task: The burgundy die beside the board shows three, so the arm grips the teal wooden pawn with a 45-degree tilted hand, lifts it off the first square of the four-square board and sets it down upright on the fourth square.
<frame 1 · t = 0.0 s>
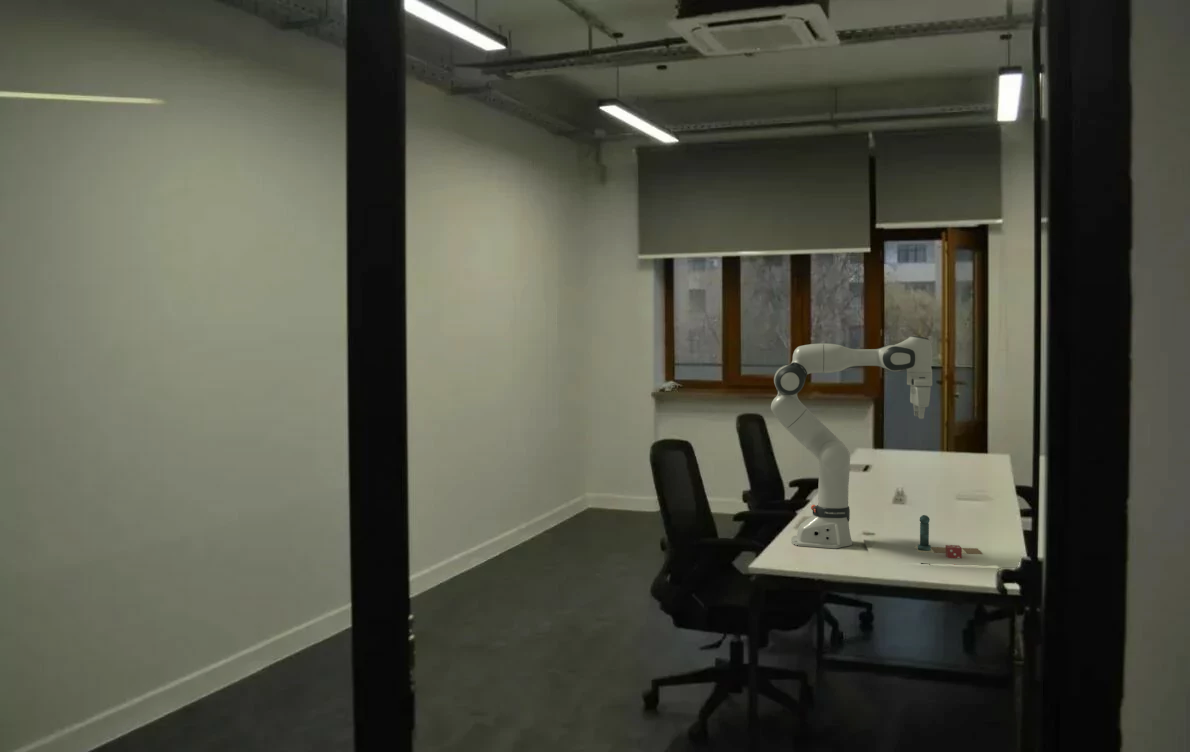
hand: (919, 417, 355), 48 cm above the table, tool pointing down, fingers open, 8 cm apart
board: (948, 553, 345), on the table
pawn: (924, 549, 346), point 1 cm above the table, touching board
die: (953, 559, 336), on the table
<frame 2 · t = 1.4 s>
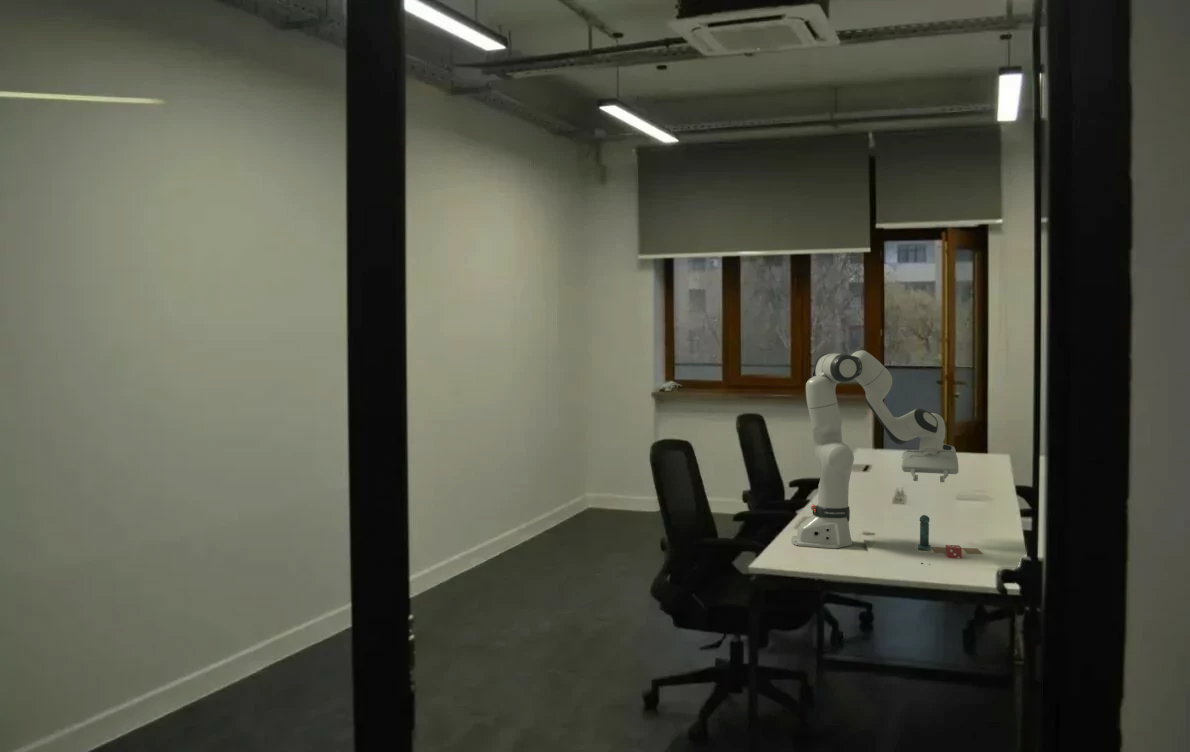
hand: (928, 480, 356), 24 cm above the table, tool tilted 45°, fingers open, 8 cm apart
nothing on the table moved.
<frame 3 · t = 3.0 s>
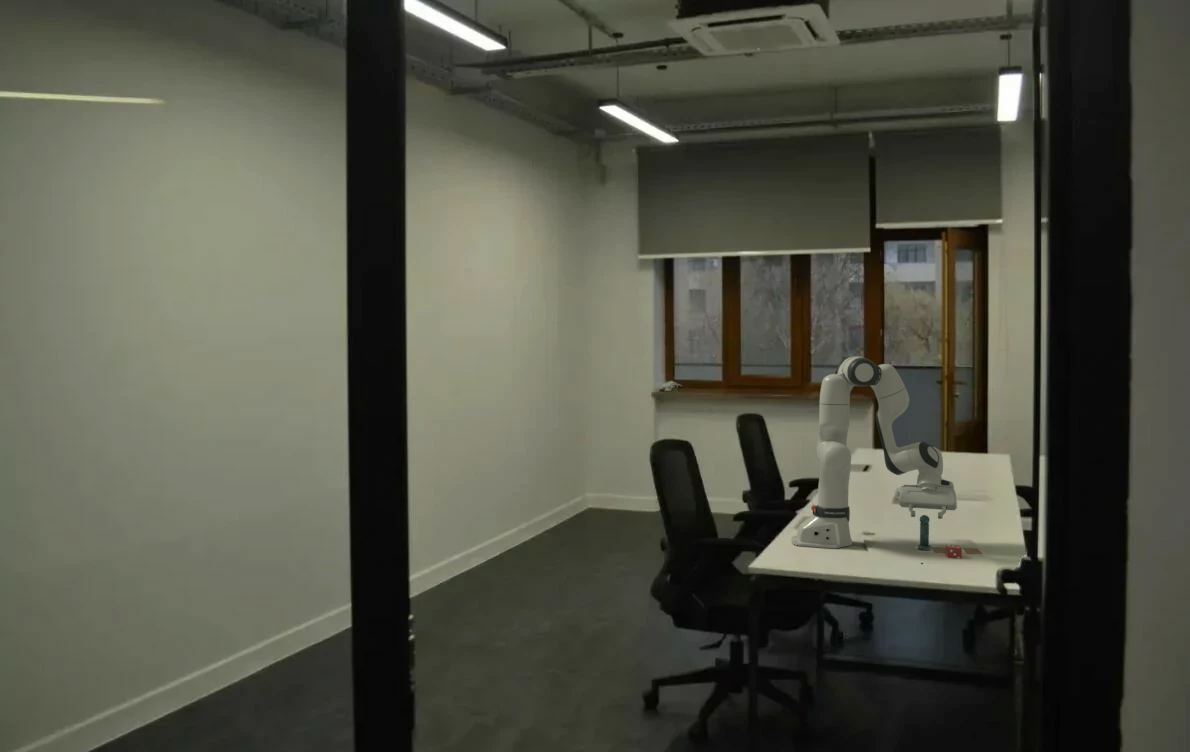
hand: (926, 516, 350), 12 cm above the table, tool tilted 45°, fingers open, 8 cm apart
nothing on the table moved.
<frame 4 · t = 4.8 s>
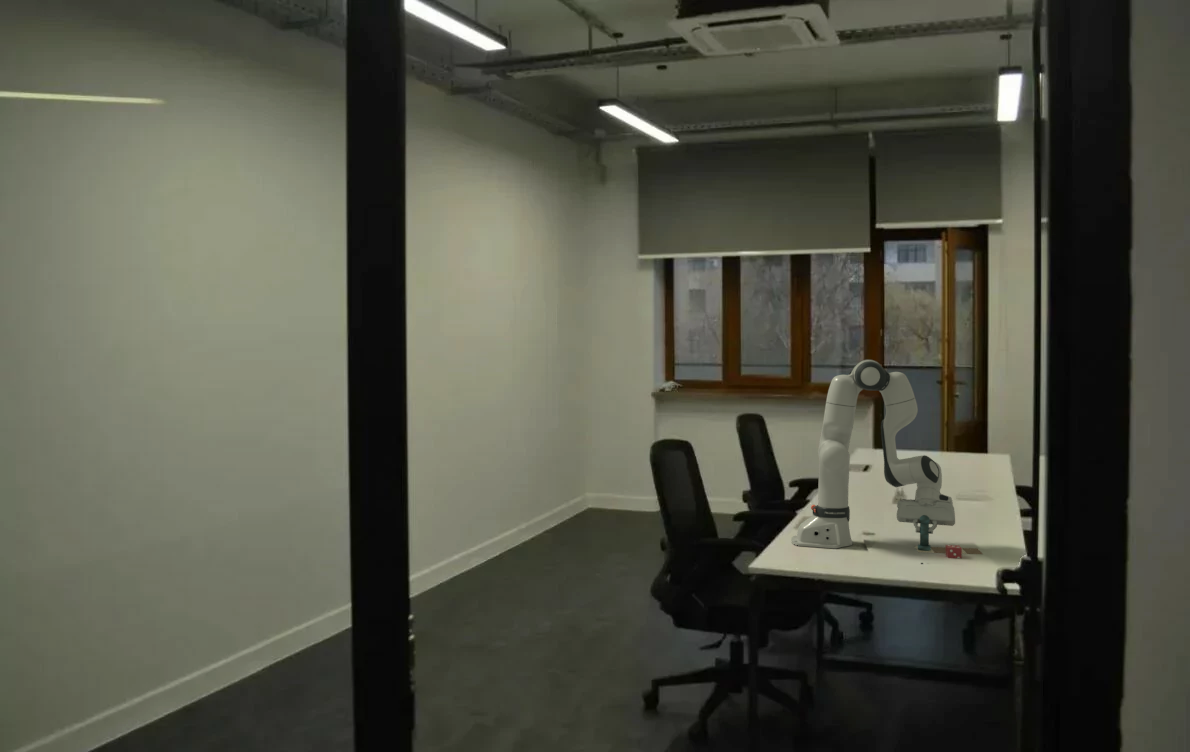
hand: (924, 532, 345), 7 cm above the table, tool tilted 45°, fingers closed on pawn, 3 cm apart
pawn: (924, 549, 346), point 1 cm above the table, touching board, gripper
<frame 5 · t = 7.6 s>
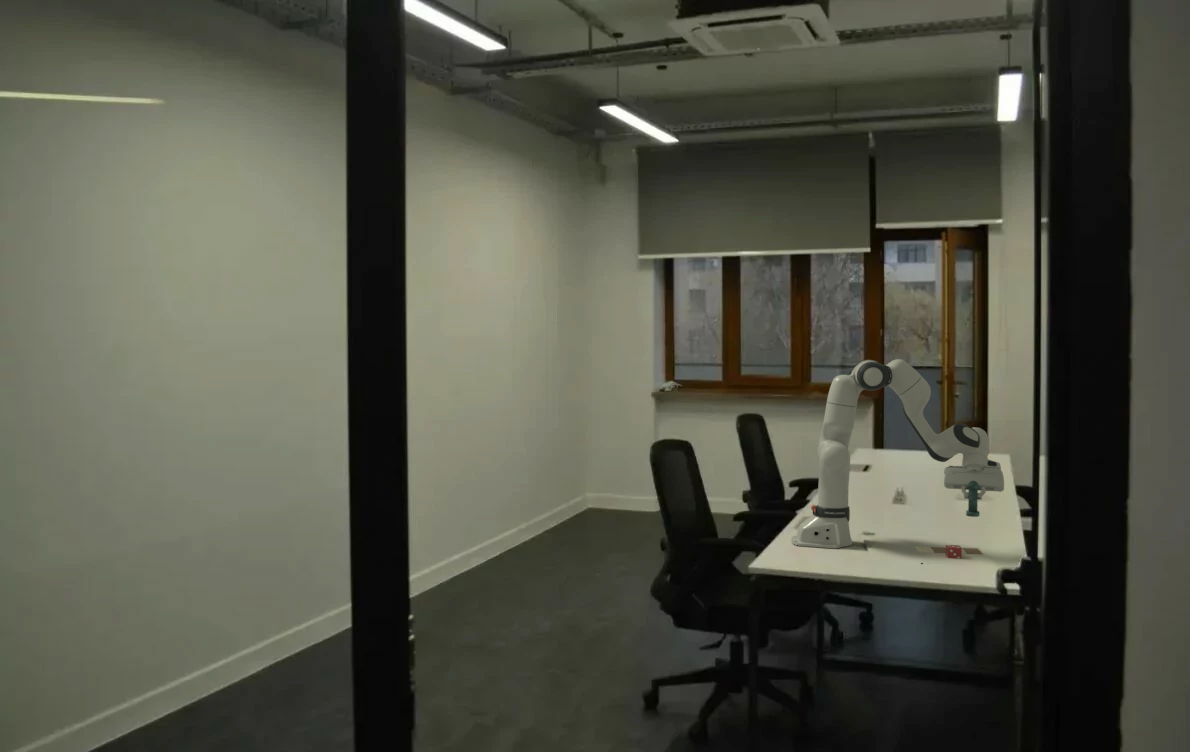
hand: (972, 498, 342), 20 cm above the table, tool tilted 45°, fingers closed on pawn, 3 cm apart
pawn: (972, 515, 343), point 14 cm above the table, touching gripper
when the fingers open (9 cm above the table, at t = 10.4 s): pawn drops 1 cm, resting on board.
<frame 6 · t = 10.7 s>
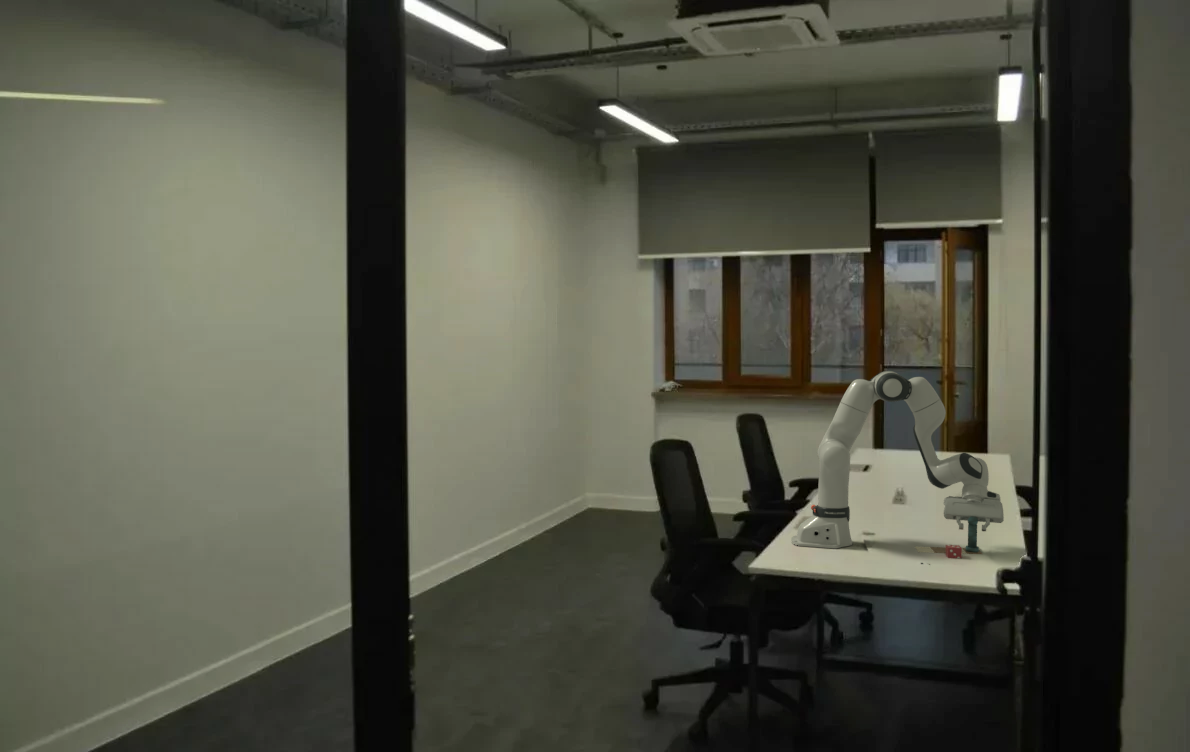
hand: (972, 529, 342), 9 cm above the table, tool tilted 45°, fingers open, 6 cm apart
pawn: (972, 550, 343), point 1 cm above the table, touching board
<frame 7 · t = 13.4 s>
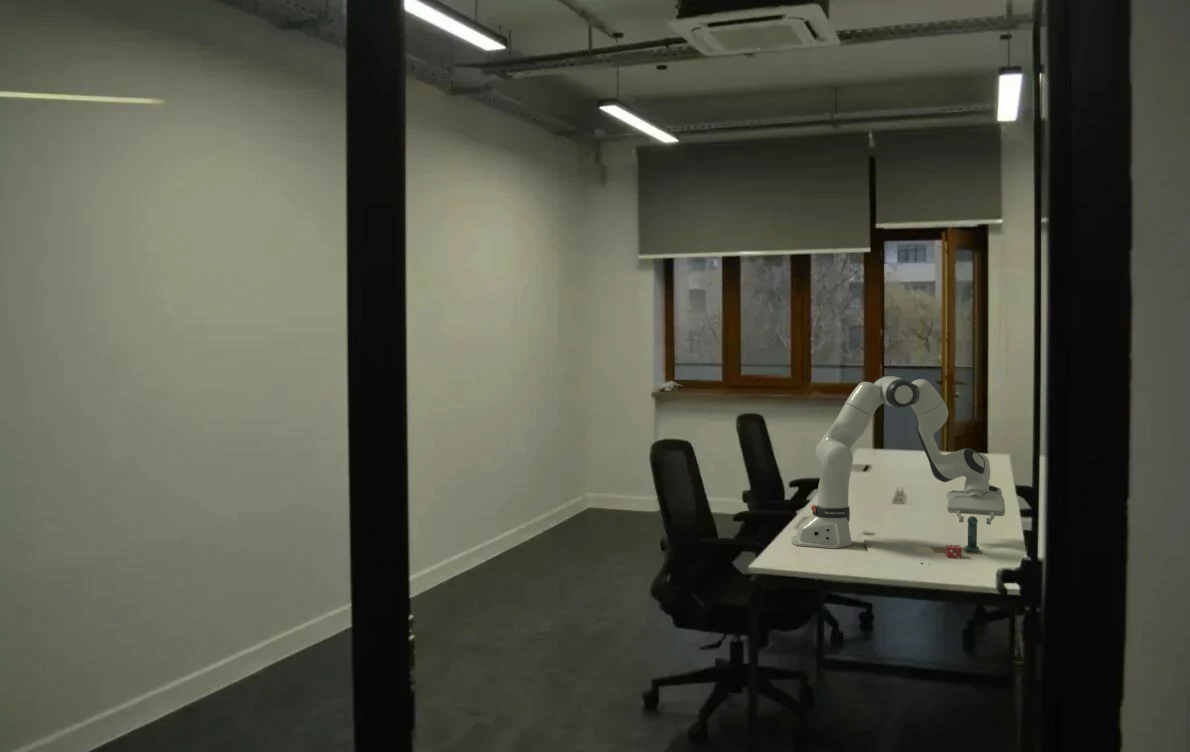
hand: (974, 522, 354), 9 cm above the table, tool tilted 45°, fingers open, 8 cm apart
nothing on the table moved.
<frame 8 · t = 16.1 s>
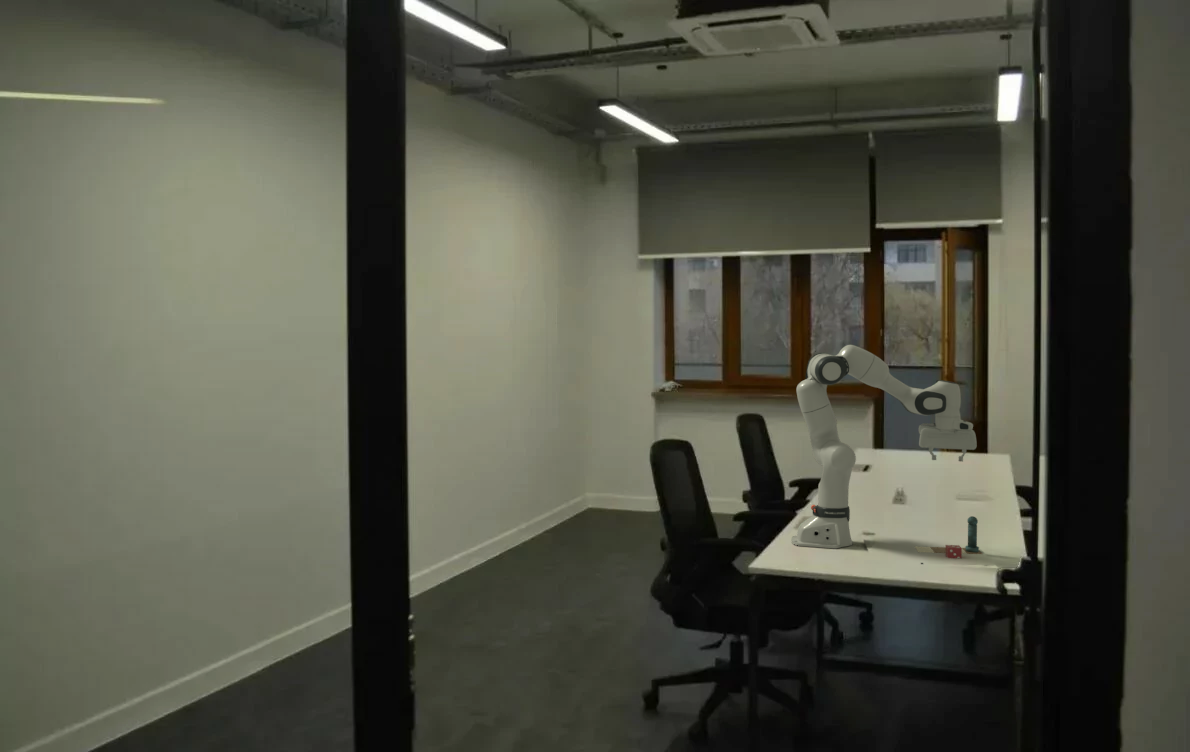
hand: (947, 460, 360), 31 cm above the table, tool pointing down, fingers open, 8 cm apart
nothing on the table moved.
at the end: pawn 0.0 cm from the target spot, point 1.0 cm above the table; pawn tilted 0°; the gripper is holding nothing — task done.
